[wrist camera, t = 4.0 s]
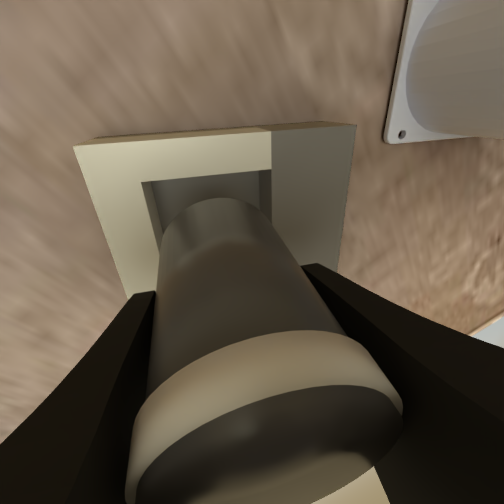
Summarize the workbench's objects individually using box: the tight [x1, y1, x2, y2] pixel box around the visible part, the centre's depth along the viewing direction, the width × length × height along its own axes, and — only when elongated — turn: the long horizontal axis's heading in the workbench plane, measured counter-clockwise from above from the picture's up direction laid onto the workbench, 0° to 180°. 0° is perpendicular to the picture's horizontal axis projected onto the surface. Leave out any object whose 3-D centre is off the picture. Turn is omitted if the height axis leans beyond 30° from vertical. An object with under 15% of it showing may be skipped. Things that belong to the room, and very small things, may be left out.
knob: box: [125, 198, 403, 504], centre depth 7 cm, size 5×5×7 cm
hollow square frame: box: [73, 121, 357, 300], centre depth 15 cm, size 12×9×4 cm
